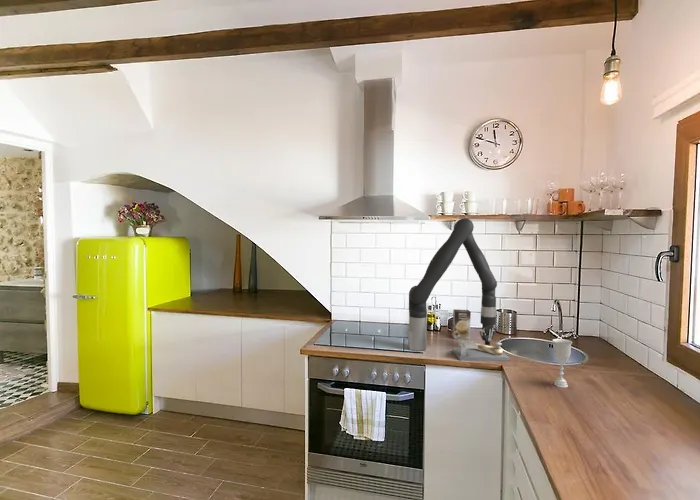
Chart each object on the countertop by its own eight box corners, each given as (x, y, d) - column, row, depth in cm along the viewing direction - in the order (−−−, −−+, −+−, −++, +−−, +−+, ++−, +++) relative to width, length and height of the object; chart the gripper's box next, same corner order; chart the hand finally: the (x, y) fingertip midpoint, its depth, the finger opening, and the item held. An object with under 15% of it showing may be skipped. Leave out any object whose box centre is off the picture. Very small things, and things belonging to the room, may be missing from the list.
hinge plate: (460, 360, 187) (460, 345, 186) (452, 351, 201) (452, 337, 200) (509, 360, 187) (510, 345, 187) (498, 351, 201) (498, 337, 201)
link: (504, 354, 191) (504, 349, 191) (500, 355, 188) (500, 350, 188) (471, 345, 204) (471, 341, 204) (467, 347, 202) (467, 342, 202)
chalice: (560, 389, 153) (561, 344, 152) (547, 382, 160) (548, 339, 159) (575, 387, 155) (576, 342, 154) (561, 381, 162) (563, 338, 161)
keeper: (462, 360, 186) (462, 345, 186) (457, 354, 195) (457, 340, 195) (477, 360, 186) (477, 345, 186) (471, 354, 195) (471, 340, 195)
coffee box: (454, 338, 225) (454, 311, 224) (452, 335, 231) (452, 309, 231) (470, 339, 224) (470, 311, 223) (467, 336, 231) (468, 309, 230)
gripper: (488, 312, 207) (487, 344, 208) (474, 315, 199) (474, 348, 199) (501, 314, 202) (500, 347, 202) (488, 317, 193) (487, 352, 194)
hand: (487, 348), depth 201 cm, fingers closed
